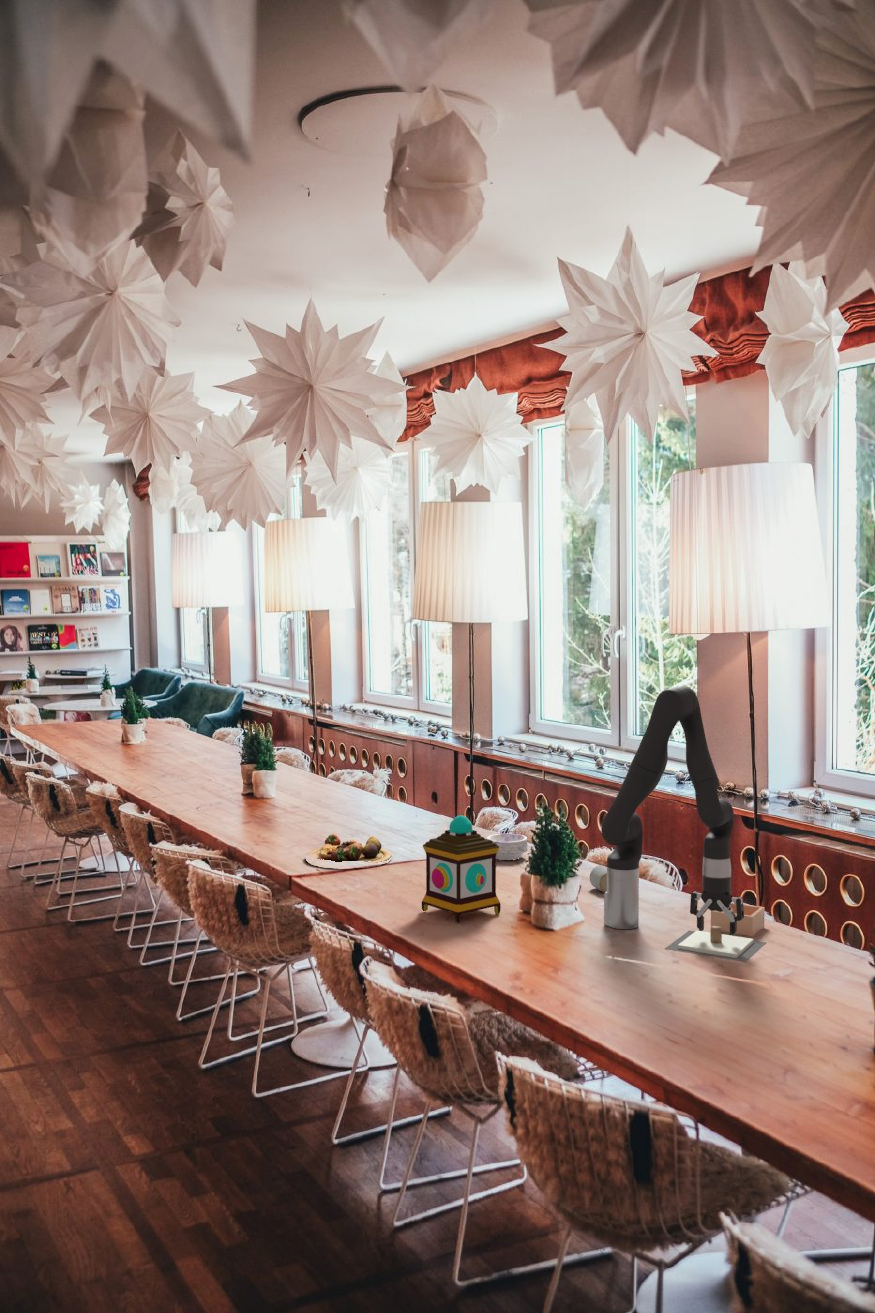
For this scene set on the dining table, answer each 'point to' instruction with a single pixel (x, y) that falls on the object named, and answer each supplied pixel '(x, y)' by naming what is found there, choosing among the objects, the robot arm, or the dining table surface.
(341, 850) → the wooden plate with food
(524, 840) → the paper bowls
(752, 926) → the terracotta dish
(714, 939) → the cream lid
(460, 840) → the decorative lantern
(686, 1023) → the dining table surface
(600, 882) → the ceramic mug
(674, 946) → the rubber mat
